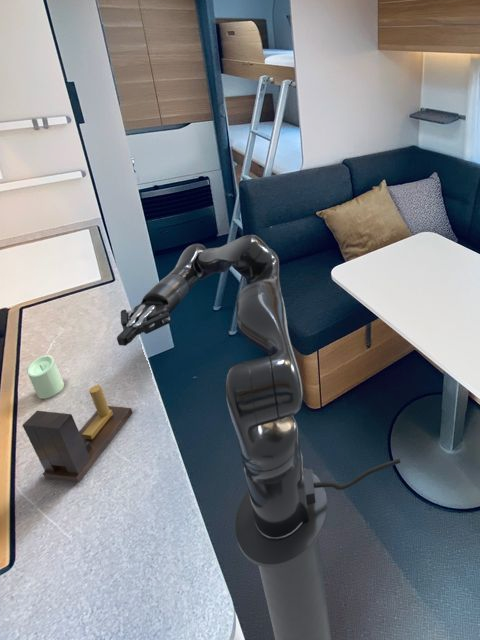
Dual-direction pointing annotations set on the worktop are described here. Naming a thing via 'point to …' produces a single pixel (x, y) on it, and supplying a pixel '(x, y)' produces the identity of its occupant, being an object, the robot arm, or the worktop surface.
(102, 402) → the bolt
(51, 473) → the latch
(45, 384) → the candle
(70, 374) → the worktop surface
